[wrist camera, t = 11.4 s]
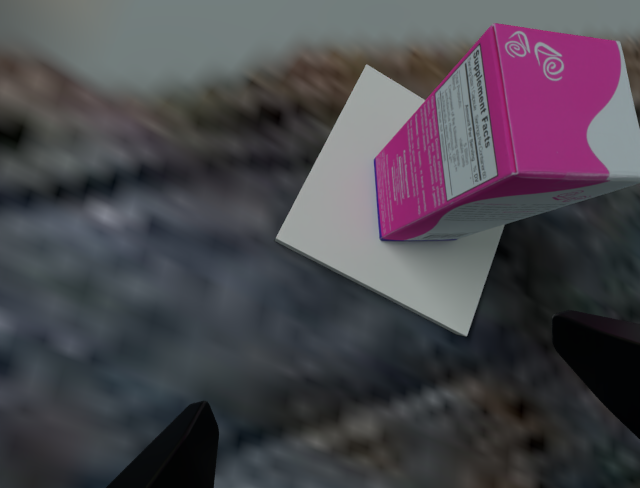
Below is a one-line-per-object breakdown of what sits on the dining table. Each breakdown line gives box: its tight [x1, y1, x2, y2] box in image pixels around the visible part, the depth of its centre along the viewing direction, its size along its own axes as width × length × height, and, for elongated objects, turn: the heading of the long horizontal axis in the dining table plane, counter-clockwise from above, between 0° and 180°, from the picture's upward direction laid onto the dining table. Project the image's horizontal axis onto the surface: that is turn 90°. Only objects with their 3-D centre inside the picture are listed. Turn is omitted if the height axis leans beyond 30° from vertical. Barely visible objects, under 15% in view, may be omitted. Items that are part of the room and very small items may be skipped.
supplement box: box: [374, 23, 640, 241], centre depth 17 cm, size 6×6×12 cm
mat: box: [275, 64, 505, 336], centre depth 23 cm, size 14×14×1 cm
